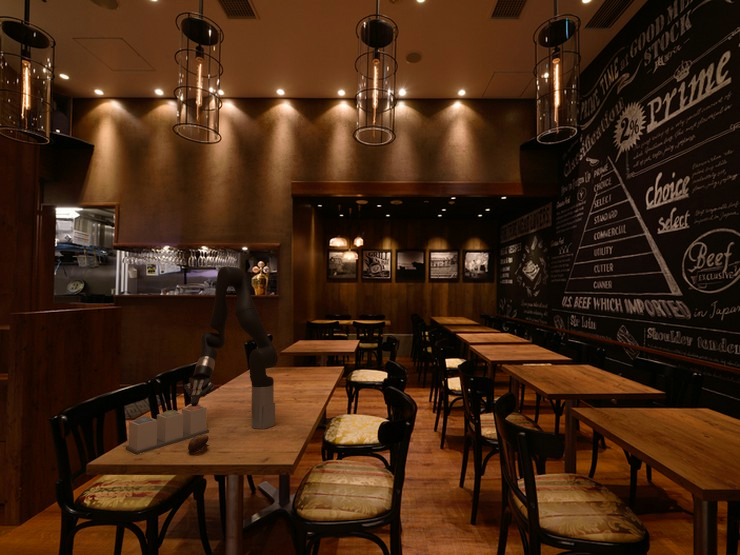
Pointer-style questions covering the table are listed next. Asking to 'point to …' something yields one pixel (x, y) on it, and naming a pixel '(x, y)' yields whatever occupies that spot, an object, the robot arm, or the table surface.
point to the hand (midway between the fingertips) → (193, 405)
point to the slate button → (142, 420)
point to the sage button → (170, 413)
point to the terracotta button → (193, 407)
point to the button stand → (166, 430)
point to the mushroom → (198, 444)
